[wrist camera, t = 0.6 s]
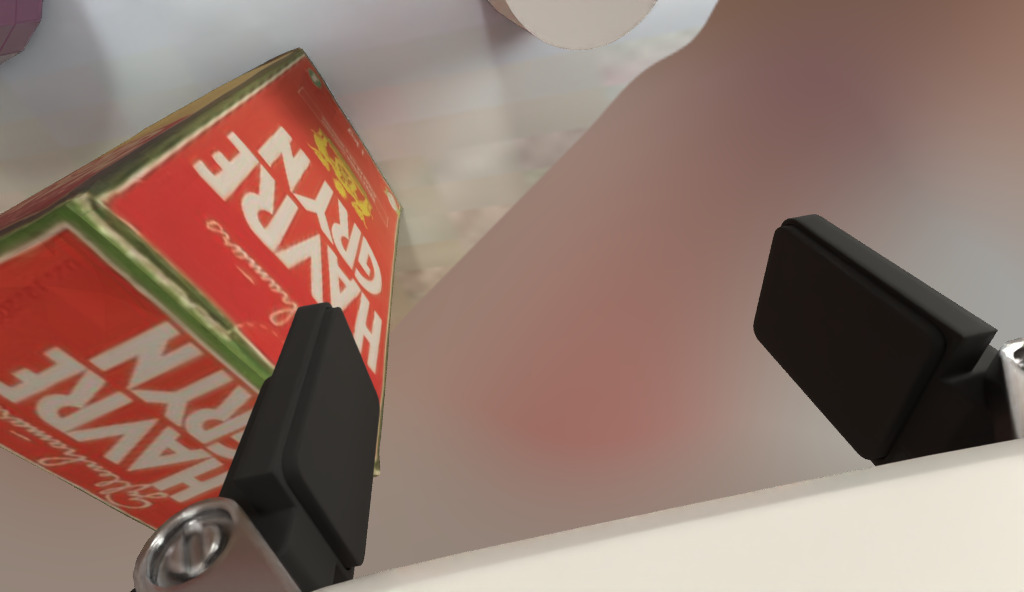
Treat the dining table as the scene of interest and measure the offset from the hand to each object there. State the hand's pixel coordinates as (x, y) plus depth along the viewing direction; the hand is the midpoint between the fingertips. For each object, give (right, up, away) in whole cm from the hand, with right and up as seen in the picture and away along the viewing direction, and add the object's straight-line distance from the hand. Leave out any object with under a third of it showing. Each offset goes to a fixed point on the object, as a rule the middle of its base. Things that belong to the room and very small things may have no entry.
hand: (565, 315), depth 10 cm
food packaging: (-16, +10, +25) cm, 32 cm away
